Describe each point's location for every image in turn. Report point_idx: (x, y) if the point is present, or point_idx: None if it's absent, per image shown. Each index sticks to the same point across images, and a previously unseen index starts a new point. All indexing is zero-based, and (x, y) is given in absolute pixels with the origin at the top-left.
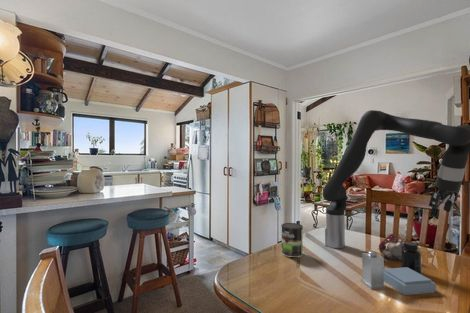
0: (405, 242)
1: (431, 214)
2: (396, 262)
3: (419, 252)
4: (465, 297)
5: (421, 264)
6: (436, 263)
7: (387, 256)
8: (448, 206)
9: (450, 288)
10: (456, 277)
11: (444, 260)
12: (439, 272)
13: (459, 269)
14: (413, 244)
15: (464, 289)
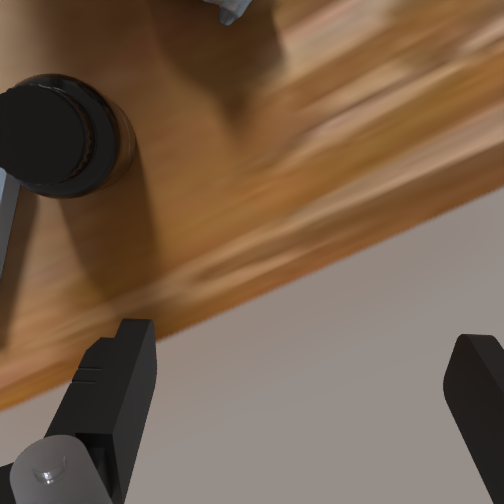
0: (24, 94)
1: (126, 329)
2: (145, 8)
3: (75, 189)
4: None
5: (102, 188)
6: (343, 133)
7: None
8: (482, 443)
9: (99, 316)
10: (247, 269)
11: (426, 131)
12: (233, 204)
13: (361, 227)
14: (37, 160)
15: None
